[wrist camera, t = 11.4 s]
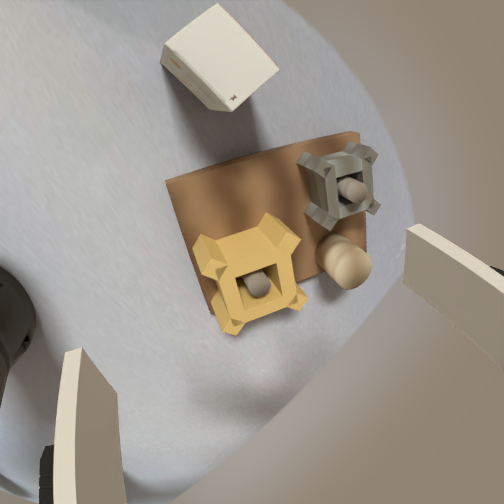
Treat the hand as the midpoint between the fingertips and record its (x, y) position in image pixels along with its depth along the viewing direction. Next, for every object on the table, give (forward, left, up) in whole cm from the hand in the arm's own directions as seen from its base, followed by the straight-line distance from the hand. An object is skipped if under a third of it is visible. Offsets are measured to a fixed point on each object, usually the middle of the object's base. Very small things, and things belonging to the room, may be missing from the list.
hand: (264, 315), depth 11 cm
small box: (+5, +10, -27) cm, 29 cm away
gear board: (+10, -10, -27) cm, 30 cm away
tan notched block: (+4, -13, -25) cm, 28 cm away
